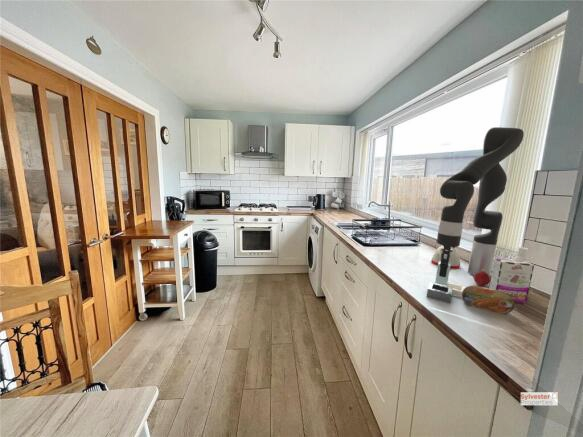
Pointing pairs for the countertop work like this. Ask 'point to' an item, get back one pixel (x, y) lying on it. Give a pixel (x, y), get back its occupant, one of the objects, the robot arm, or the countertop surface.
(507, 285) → the candy bar box
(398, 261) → the countertop surface
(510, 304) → the tin
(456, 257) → the white dome
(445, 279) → the plug
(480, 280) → the onion
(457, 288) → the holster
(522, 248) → the bath foam
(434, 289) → the block
